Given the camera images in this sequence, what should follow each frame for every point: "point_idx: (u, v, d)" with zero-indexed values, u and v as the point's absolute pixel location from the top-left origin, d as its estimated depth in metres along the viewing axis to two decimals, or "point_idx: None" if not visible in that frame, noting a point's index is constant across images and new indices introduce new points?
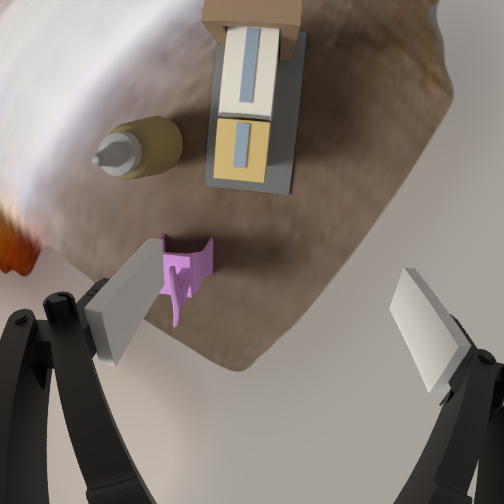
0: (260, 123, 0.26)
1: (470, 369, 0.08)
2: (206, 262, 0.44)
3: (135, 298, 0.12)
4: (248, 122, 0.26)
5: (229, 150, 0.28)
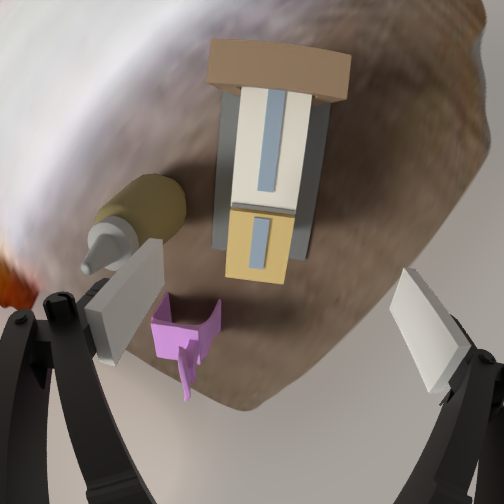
0: (283, 219, 0.23)
1: (469, 369, 0.08)
2: (214, 325, 0.41)
3: (135, 298, 0.12)
4: (268, 217, 0.23)
5: (244, 248, 0.24)
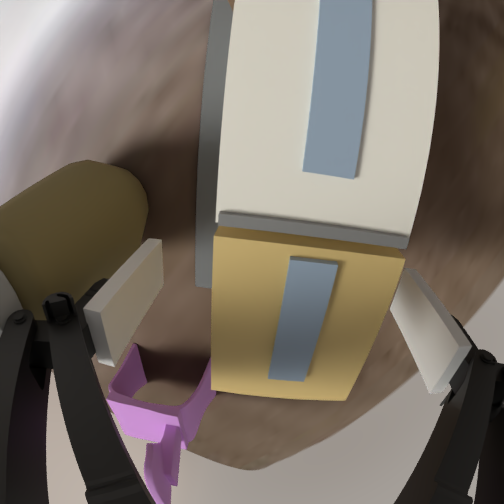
0: (374, 261, 0.07)
1: (470, 369, 0.08)
2: (205, 394, 0.26)
3: (134, 298, 0.12)
4: (333, 257, 0.07)
5: (257, 338, 0.09)
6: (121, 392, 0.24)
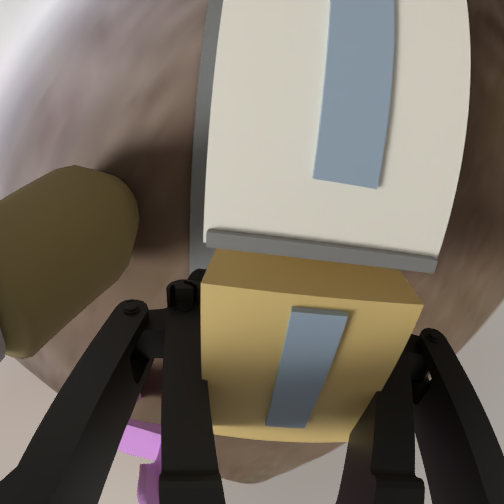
0: (389, 309, 0.06)
1: None
2: None
3: None
4: (342, 306, 0.06)
5: (253, 388, 0.07)
6: None
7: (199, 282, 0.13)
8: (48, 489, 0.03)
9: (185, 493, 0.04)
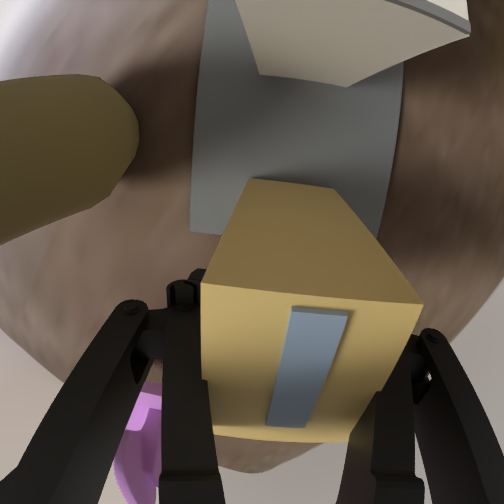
0: (389, 309, 0.06)
1: None
2: None
3: None
4: (342, 306, 0.06)
5: (253, 388, 0.07)
6: None
7: (199, 282, 0.13)
8: (48, 489, 0.03)
9: (185, 493, 0.04)
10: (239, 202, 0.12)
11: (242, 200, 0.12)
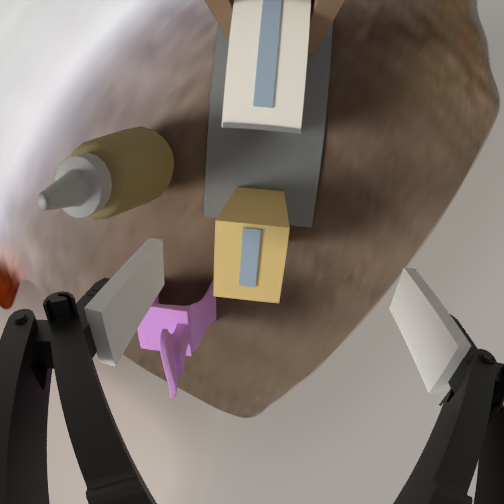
0: (276, 229, 0.20)
1: (469, 369, 0.08)
2: (208, 310, 0.35)
3: (135, 298, 0.12)
4: (259, 227, 0.20)
5: (233, 264, 0.21)
6: None
7: (98, 293, 0.11)
8: (0, 503, 0.02)
9: None
10: (230, 199, 0.26)
11: (231, 198, 0.26)
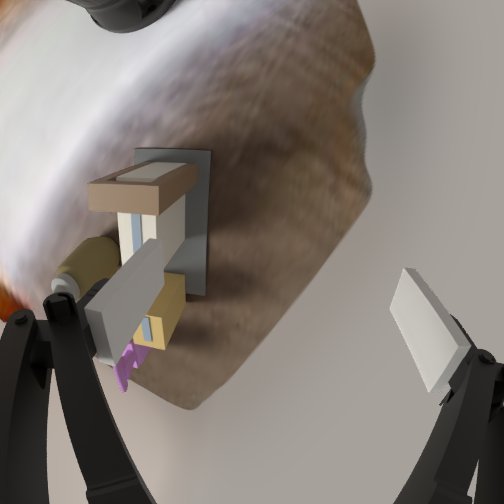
0: (155, 317, 0.38)
1: (469, 369, 0.08)
2: None
3: (135, 298, 0.12)
4: (147, 316, 0.38)
5: (140, 330, 0.39)
6: None
7: (98, 293, 0.11)
8: (0, 503, 0.02)
9: None
10: None
11: None
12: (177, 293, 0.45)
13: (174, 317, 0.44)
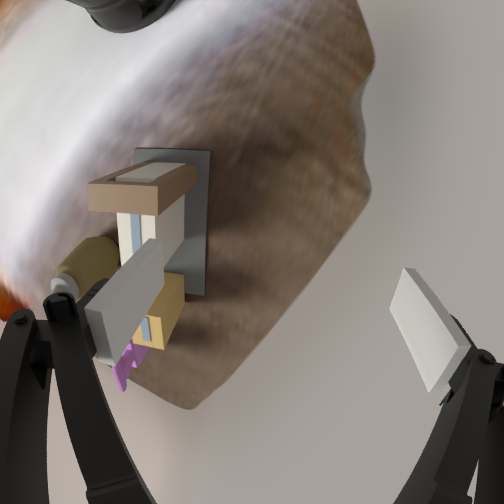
0: (154, 317, 0.38)
1: (469, 369, 0.08)
2: None
3: (135, 298, 0.12)
4: (146, 316, 0.38)
5: (139, 330, 0.39)
6: None
7: (98, 293, 0.11)
8: (0, 503, 0.02)
9: None
10: None
11: None
12: (176, 293, 0.45)
13: (173, 317, 0.44)
